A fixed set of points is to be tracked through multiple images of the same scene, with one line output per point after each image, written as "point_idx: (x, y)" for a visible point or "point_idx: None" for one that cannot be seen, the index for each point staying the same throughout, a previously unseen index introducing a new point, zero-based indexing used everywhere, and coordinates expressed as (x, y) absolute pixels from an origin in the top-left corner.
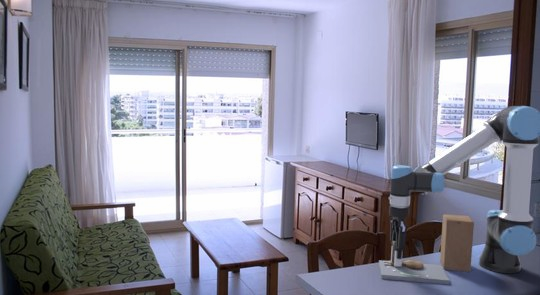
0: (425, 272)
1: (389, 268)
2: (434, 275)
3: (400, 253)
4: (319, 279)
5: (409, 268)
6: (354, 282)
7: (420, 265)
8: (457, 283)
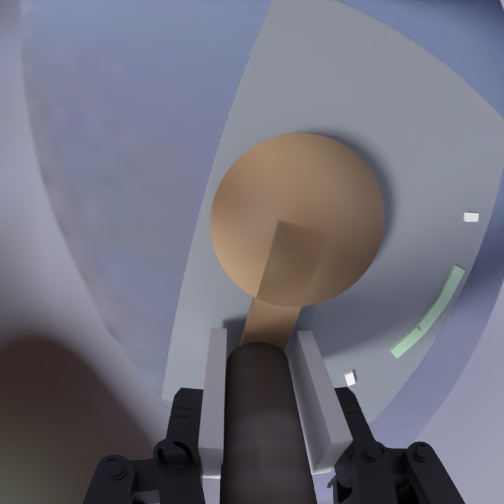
0: (426, 190)
1: None
2: (468, 160)
3: (362, 431)
4: None
5: None
6: None
7: (370, 192)
8: (484, 77)
